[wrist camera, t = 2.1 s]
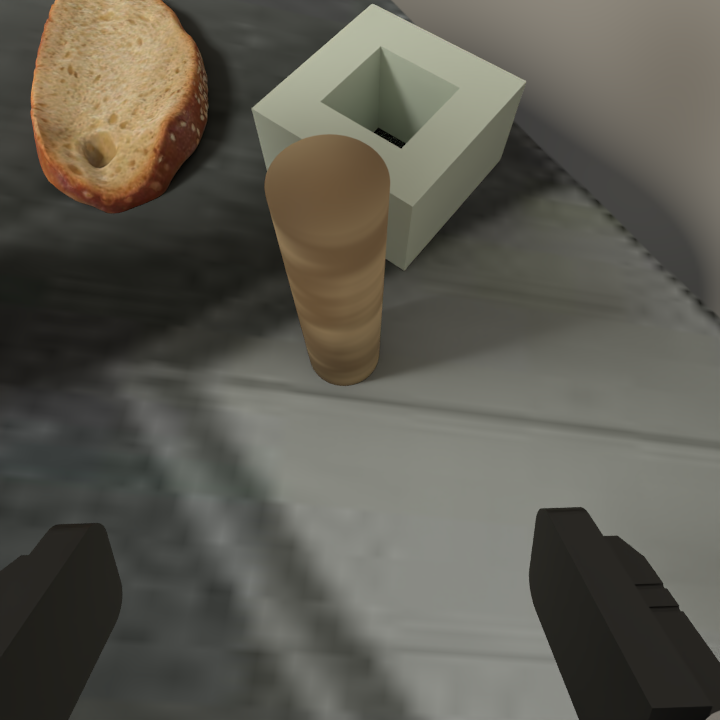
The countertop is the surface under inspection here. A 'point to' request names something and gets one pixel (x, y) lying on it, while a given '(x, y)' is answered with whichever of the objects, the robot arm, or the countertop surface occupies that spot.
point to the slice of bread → (116, 100)
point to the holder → (400, 117)
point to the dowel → (333, 248)
